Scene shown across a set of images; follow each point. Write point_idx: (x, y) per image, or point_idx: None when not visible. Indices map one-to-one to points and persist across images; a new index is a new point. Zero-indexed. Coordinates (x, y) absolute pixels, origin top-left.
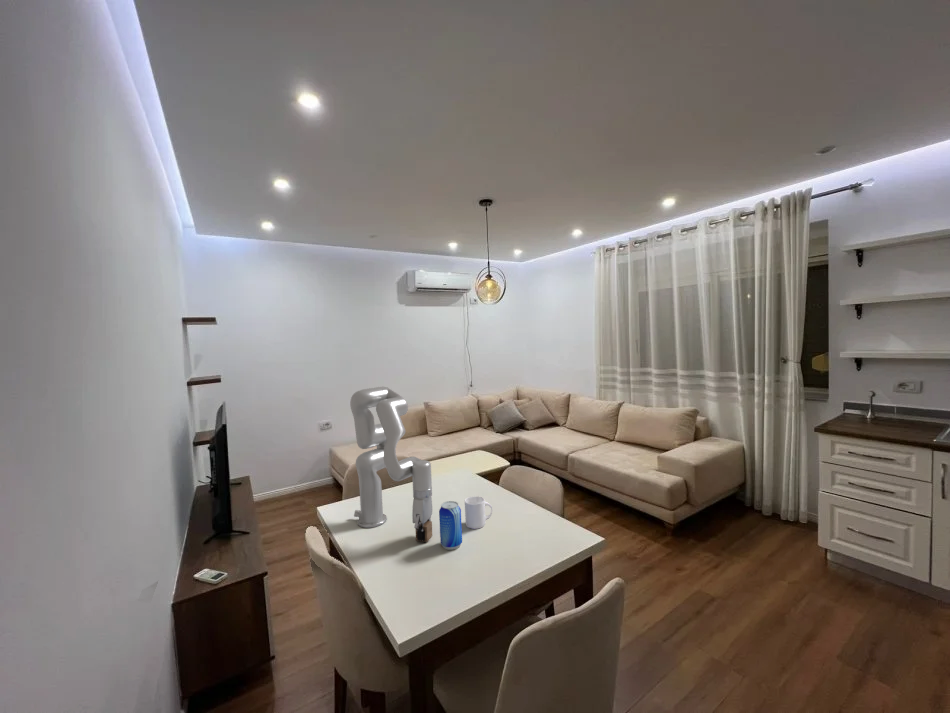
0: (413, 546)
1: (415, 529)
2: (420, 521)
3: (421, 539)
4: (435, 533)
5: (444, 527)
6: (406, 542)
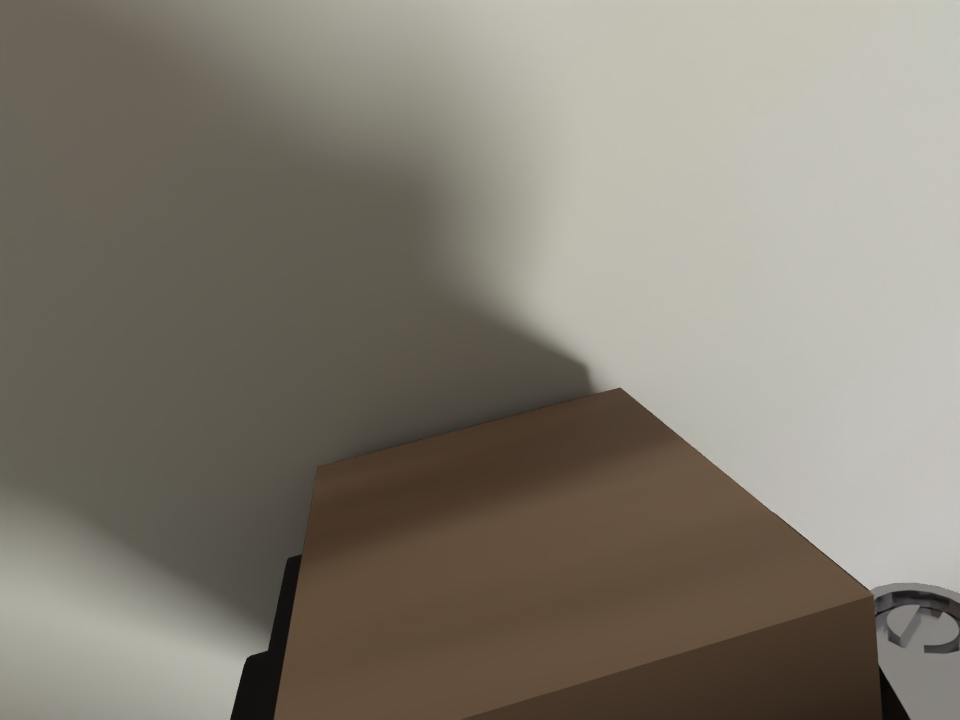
0: (110, 549)
1: (287, 650)
2: (752, 682)
3: None
4: None
5: None
6: (167, 265)
